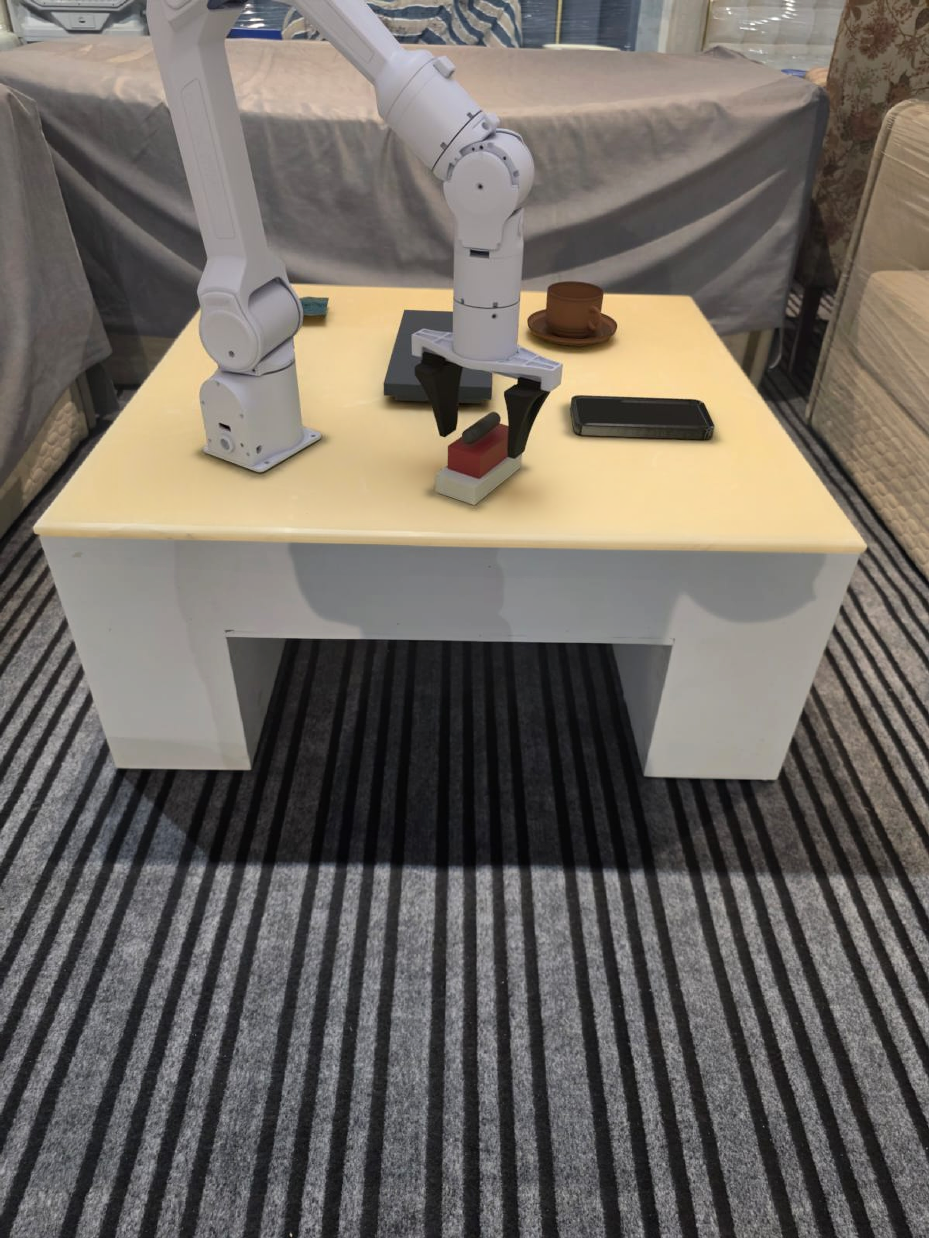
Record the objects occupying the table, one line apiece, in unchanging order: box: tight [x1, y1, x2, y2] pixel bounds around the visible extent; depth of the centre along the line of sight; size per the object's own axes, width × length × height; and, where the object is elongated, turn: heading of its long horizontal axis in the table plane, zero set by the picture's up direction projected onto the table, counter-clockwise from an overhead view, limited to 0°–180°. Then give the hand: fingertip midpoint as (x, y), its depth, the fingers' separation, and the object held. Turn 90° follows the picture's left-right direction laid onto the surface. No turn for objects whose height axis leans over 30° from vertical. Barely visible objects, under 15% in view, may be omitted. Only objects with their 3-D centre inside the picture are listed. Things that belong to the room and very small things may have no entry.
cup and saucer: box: [526, 280, 618, 347], centre depth 111 cm, size 12×12×6 cm
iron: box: [435, 411, 523, 506], centre depth 80 cm, size 9×4×6 cm, turn 148°
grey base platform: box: [383, 309, 494, 405], centre depth 102 cm, size 24×12×3 cm, turn 178°
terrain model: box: [299, 296, 330, 317], centre depth 115 cm, size 13×8×2 cm, turn 97°
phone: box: [569, 394, 715, 440], centre depth 92 cm, size 8×1×15 cm
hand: (481, 443), depth 80 cm, fingers open, 7 cm apart
